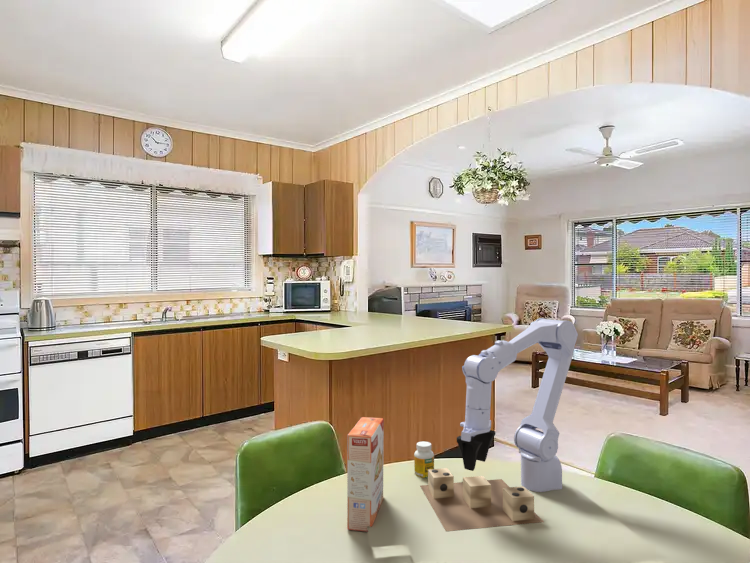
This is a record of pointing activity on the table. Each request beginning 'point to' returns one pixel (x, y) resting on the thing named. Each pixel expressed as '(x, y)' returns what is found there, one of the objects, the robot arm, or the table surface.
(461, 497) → the walnut board
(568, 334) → the robot arm
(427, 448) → the supplement bottle
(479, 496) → the blank cube
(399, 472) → the table surface
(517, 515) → the pip cube 2
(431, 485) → the pip cube
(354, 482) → the cracker box
